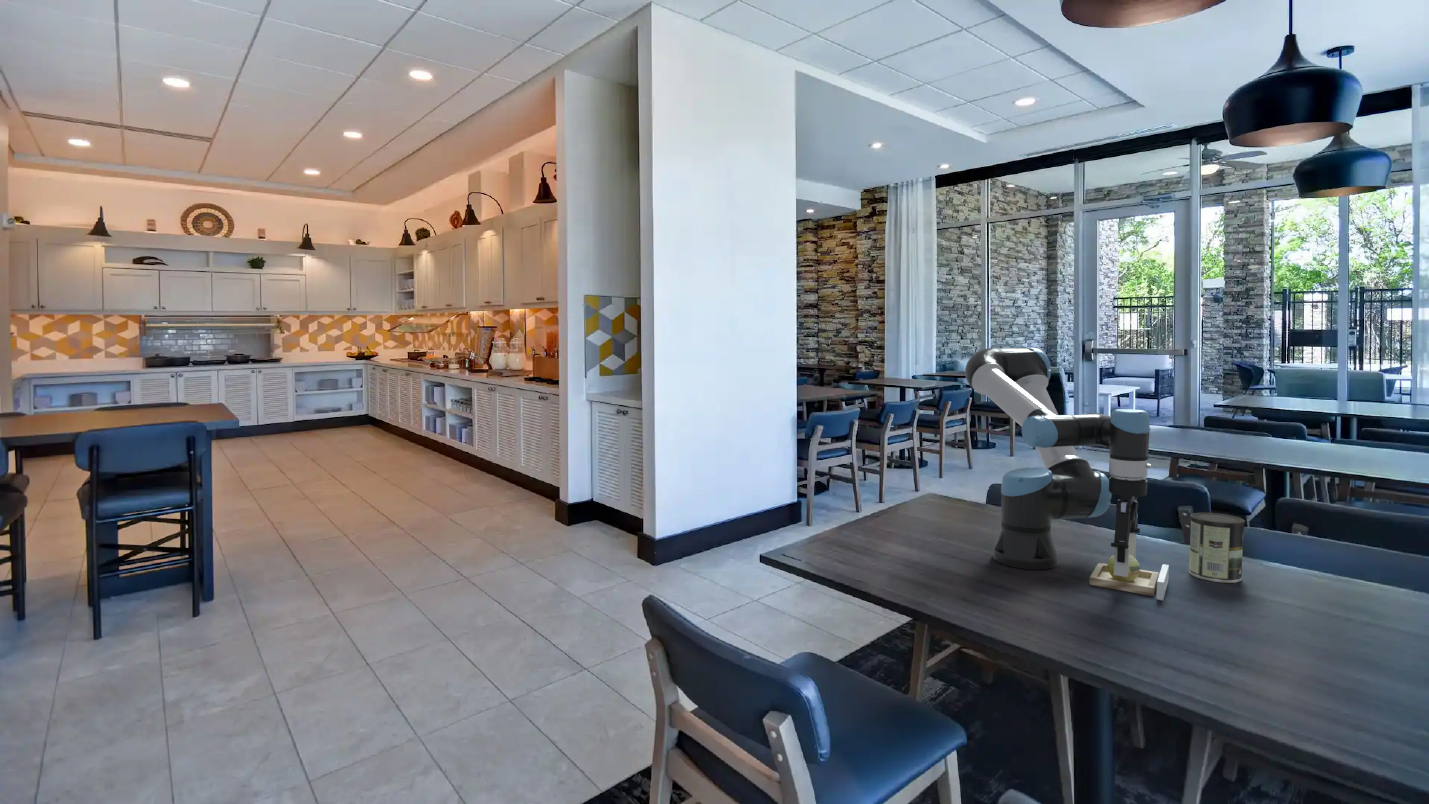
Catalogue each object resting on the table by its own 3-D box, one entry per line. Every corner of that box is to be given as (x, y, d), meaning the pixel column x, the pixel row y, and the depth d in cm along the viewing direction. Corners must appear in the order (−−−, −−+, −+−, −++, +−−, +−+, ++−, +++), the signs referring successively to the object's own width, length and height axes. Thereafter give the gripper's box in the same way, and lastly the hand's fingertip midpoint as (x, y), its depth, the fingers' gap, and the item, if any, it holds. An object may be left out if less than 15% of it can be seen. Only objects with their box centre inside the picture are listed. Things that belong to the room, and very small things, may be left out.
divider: (1156, 599, 148) (1157, 581, 147) (1162, 580, 159) (1162, 564, 158) (1163, 600, 147) (1163, 582, 146) (1168, 581, 158) (1168, 565, 158)
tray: (1089, 584, 157) (1089, 577, 157) (1098, 570, 167) (1098, 562, 167) (1153, 596, 149) (1153, 588, 149) (1158, 580, 159) (1158, 572, 159)
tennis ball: (1128, 557, 153) (1144, 551, 157) (1099, 554, 159) (1114, 548, 163) (1132, 585, 153) (1147, 579, 157) (1102, 581, 159) (1117, 575, 162)
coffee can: (1227, 569, 165) (1230, 512, 164) (1251, 584, 155) (1254, 524, 154) (1179, 567, 168) (1182, 511, 166) (1200, 582, 157) (1203, 522, 156)
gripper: (1141, 488, 144) (1137, 586, 146) (1152, 470, 163) (1149, 556, 165) (1100, 484, 148) (1097, 579, 150) (1116, 467, 168) (1113, 551, 170)
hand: (1124, 567), depth 158 cm, fingers open, 13 cm apart
